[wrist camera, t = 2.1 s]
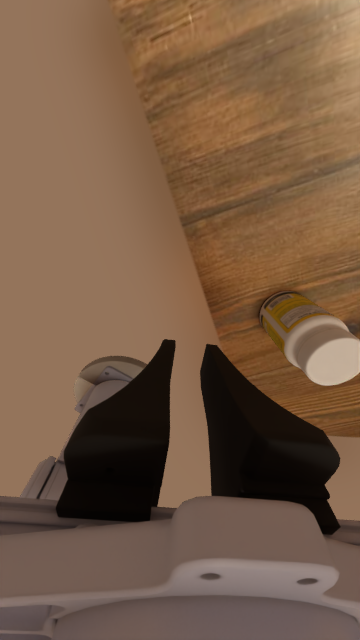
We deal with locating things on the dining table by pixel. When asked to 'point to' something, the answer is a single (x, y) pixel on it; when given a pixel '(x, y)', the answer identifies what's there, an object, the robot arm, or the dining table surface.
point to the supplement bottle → (311, 338)
